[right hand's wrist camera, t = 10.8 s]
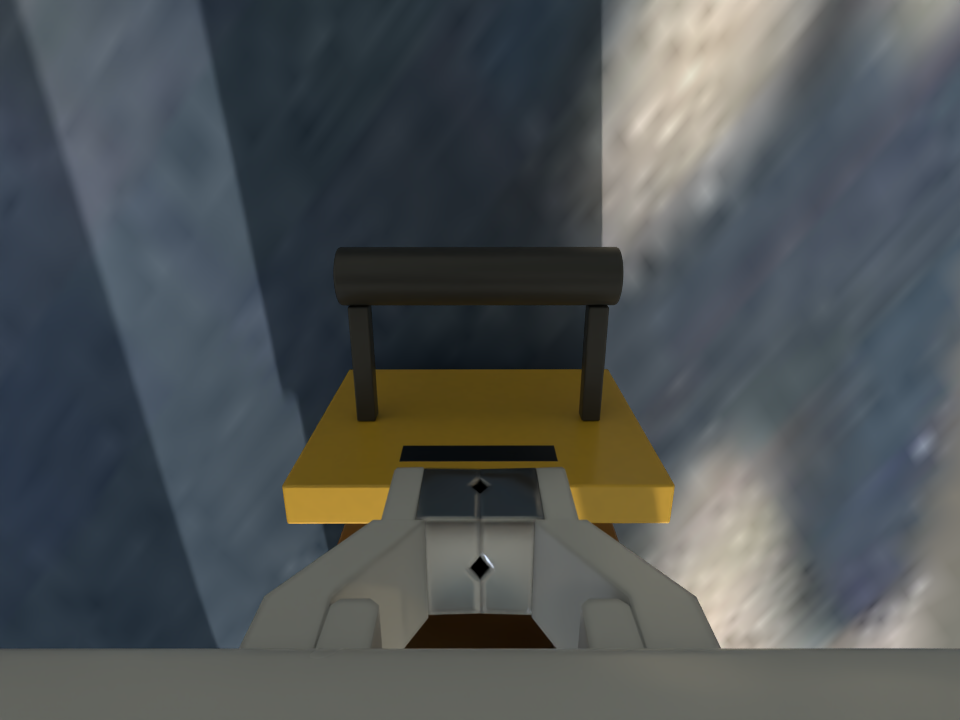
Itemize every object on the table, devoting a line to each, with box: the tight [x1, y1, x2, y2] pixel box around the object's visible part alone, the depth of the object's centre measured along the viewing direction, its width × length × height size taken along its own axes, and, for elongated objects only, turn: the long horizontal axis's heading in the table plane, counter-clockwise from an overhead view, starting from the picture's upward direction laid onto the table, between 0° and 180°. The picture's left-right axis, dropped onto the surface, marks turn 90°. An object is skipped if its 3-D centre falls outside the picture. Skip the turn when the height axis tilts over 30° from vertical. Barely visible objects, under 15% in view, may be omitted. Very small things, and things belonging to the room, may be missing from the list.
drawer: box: [282, 247, 675, 649], centre depth 21 cm, size 24×10×8 cm, turn 0°
